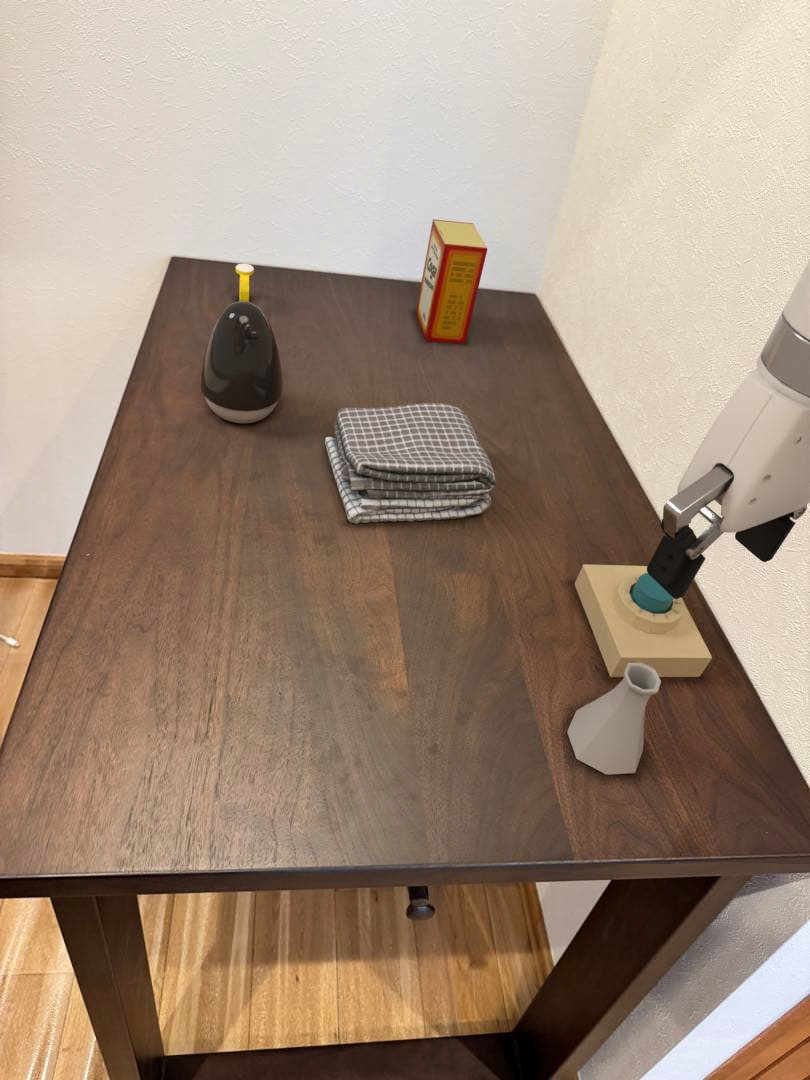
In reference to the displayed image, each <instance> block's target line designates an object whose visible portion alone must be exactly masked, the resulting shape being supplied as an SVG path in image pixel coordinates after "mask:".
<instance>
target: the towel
mask: <svg viewBox="0 0 810 1080" xmlns="http://www.w3.org/2000/svg"><path fill="white" fill-rule="evenodd" d="M333 427H334V437H332V436H327V437H325V438H324V446H325V447H326V452H327V456H328V459H329V463H330V466H331V469H332V472H333V476H334V480H335V482H336V484H337V485H336V486H337V488H338V494H339V495H340V498H341V501H342V503H343V507H344V509H345V514H346V516H347V517H346V518H347V521H349V522H350V523H353V524H357V525H358V524H360V523H363V524H368V523H371V522H373V523H378V522H381V523H382V522H387V523H388V522H395V523H396V522H406V521H407V522H415V521H417V522H420V521H421V522H422V521H433V520H435V521H440V520H450V519H451V520H454V519H465V518H467V517H474V516H478V515H481V514H483V513H484V512H485V511H486V510H489V508H490V507H491V505H492V498H491V496H490V493H491V492H494V490H495V489H497V488H496V487H497V485H498V481H497V477H496V473H495V471H494V468H493V465H492V462H491V460H490V458H489V457H488V454H487V453H486V452H485V449H484V448H483V446H482V445H481V443H480V442H479V438H478V436H477V433H476V431H475V430H474V427H473V425H472V423H471V421H470V419H469V416H468V415H467V414H466V412H465V411H464V410H463V409H462V408H461V407H458V406H455V405H452V404H448V403H445V402H433V403H431V402H424V403H421V402H420V403H409V404H402V405H394V406H383V407H376V406H375V407H351V406H348V407H342V408H340V409H338V411H337V413H336V421H335V422H334V423H333Z"/></svg>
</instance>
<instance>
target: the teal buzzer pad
mask: <svg viewBox="0 0 810 1080" xmlns="http://www.w3.org/2000/svg"><path fill="white" fill-rule="evenodd" d="M647 566H648V565H623V564H621V565H619V564H590V563H589V564H587V563H586V564H585V563H584V564H582V566H581V569H580V571H579V573H578V575H577V577H576V579H575V582H574V587H575V589H576V592H577V595H578V597H579V600H580V602H581V605H582V608H583V610H584V612H585V615H586V618H587V620H588V623H589V626H590V629H591V630H592V633H593V636H594V638H595V641H596V644H597V646H598V650H599V651H600V654H601V657H602V659H603V662H604V665H605V667H606V670H607V672H608V675H609V677H610V678H624V677H623V674H624V672H625V669H626V667H627V664H628V663H643V664H645V665H647V666H649V667H651V668H653V669H655V670H656V672H657V674H658V676H659V678H700V677H701V676H702V674H703V673H704V671H705V670H706V668H707V667H708V665H709V664H710V662H711V660H712V659H713V657H712V654H711V653H710V650H709V648H708V647H707V645H706V642H705V641H704V639H703V637H702V634H701V633H700V630H699V629H698V627H697V625H696V623H695V621H694V619H693V617H692V615H691V613H690V611H689V609H688V607H687V605H686V604H685V602H684V599H683V597H681V598H678V599H673V601H672V603H671V605H670V606H669V608H668V610H667V611H666V612H664V613H661V614H653V613H650V612H648V611H645V610H643V609H641V608H640V607H639V606H638V605H637V604H635V603H634V601H633V599H632V595H631V593H632V590H633V588H634V586H635V584H636V582H637V580H638V579H639V577H640V576H641V575H642V574H645V573H648V572H647Z"/></svg>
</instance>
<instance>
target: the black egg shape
mask: <svg viewBox="0 0 810 1080" xmlns="http://www.w3.org/2000/svg"><path fill="white" fill-rule="evenodd" d="M281 363H282V362H281V357H280V352H279V349H278V344H277V341H276V337H275V334H274V331H273V328H272V326H271V323H270V321H269V319H268V317H267V316H266V314H265V313H264V311H263V310H262V309H261V308H260V307H259V306H257V305H256V304H254V303H252V302H250V301H249V302H245V301H239V300H238V301H235V302H232V303H230V304H229V305H227V306H226V307H225V308H224V309H223V310H222V312H221V313H220V314H219V316H218V318H217V319H216V321H215V323H214V325H213V328H212V330H211V333H210V335H209V339H208V342H207V344H206V348H205V351H204V356H203V361H202V366H201V373H200V374H201V375H200V390H201V393H202V394H203V396H204V398H205V401H206V403H207V405H208V406H209V408H210V409H211V411H212V412H214V413H215V415H217V416H218V417H219V418H221V419H223V420H225V421H228V422H229V423H230V422H231V423H235V424H252V423H256V422H259V421H261V420H263V419H265V418H267V416H269V415H270V414H271V413H272V412H273V410H274V409H275V408H276V406H277V404H278V401H279V400H280V399H281V397H282V394H283V389H284V388H283V386H284V384H283V383H284V381H283V370H282V364H281Z"/></svg>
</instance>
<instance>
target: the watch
mask: <svg viewBox="0 0 810 1080" xmlns="http://www.w3.org/2000/svg"><path fill="white" fill-rule="evenodd" d="M234 270H235V273H236V274H237V275H239V285H238V286H239V297H238V298H239V300H238V302H239V301H245V302H250V276H253V275H254V273H255V268H254V266H253V265H251V264H248V263H238V264H237V265H235V269H234Z"/></svg>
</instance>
